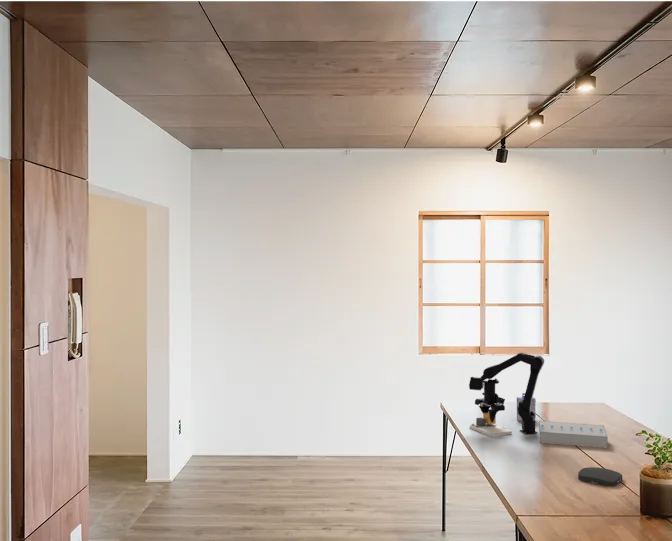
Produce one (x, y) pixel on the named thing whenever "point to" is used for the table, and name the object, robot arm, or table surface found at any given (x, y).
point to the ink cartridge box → (522, 400)
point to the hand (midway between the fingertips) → (489, 421)
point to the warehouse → (572, 434)
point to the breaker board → (491, 430)
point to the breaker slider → (480, 421)
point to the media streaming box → (600, 476)
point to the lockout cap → (488, 418)
